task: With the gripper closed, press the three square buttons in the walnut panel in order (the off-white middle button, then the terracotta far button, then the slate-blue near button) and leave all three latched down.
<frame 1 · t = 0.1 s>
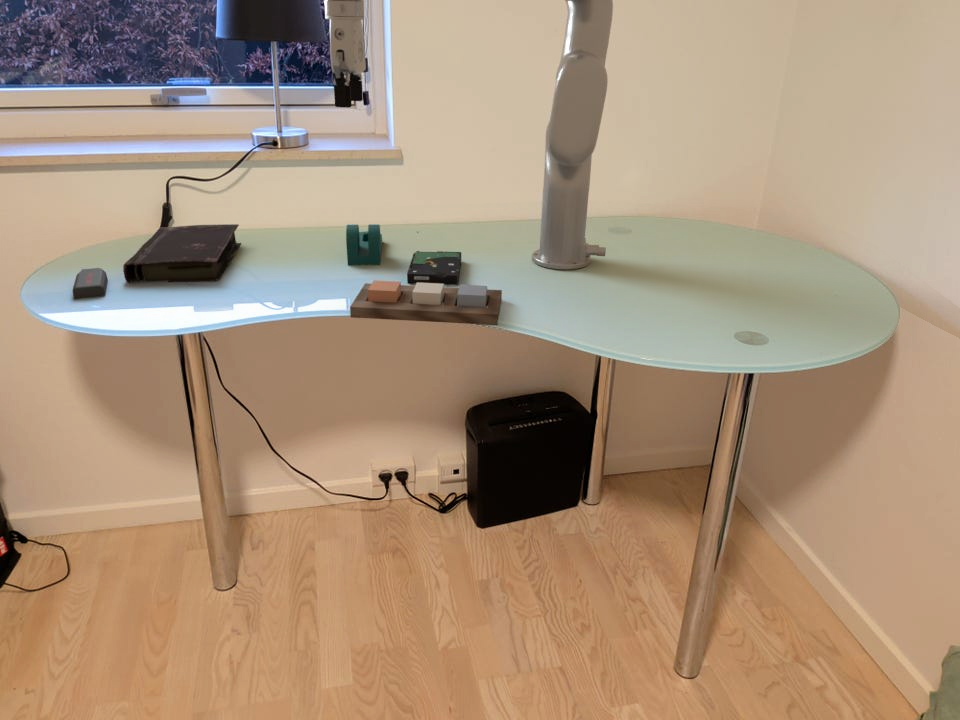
hand: (349, 103, 152), 31 cm above the table, fingers open, 9 cm apart
panel: (428, 308, 137), on the table
terracotta button: (384, 293, 136), point 3 cm above the table, slide at 0.0 cm
diary: (189, 264, 158), on the table
white button: (428, 295, 136), point 3 cm above the table, slide at 0.0 cm
disk drive: (435, 275, 155), on the table
bracket: (366, 253, 166), on the table
dark grey block: (92, 289, 143), on the table
slate button: (472, 297, 135), point 3 cm above the table, slide at 0.0 cm
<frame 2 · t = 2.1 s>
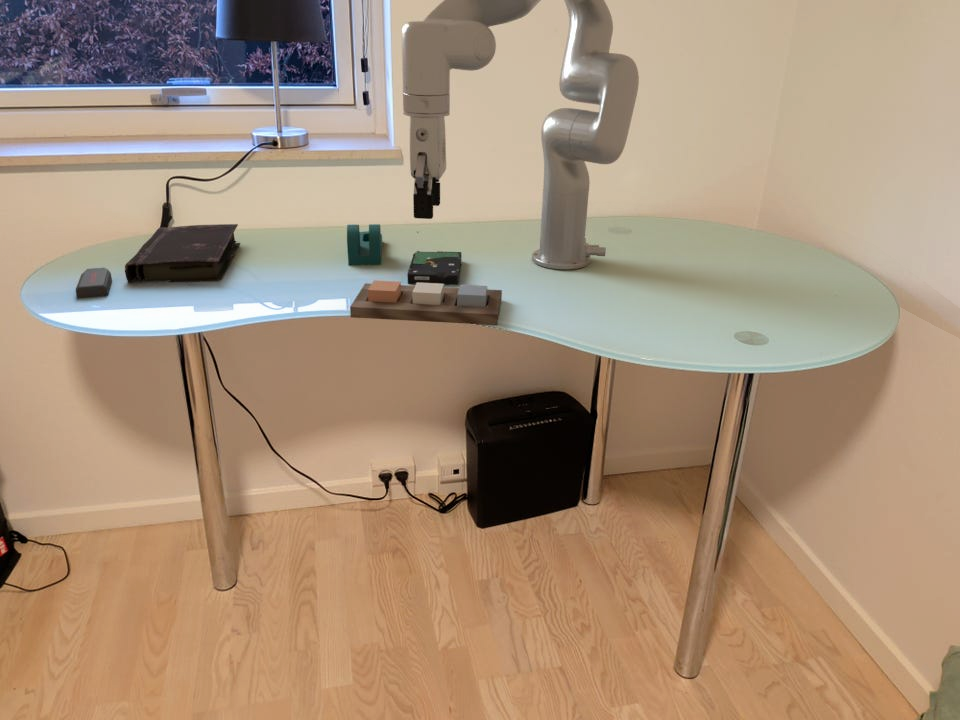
hand: (427, 210, 129), 18 cm above the table, fingers open, 8 cm apart
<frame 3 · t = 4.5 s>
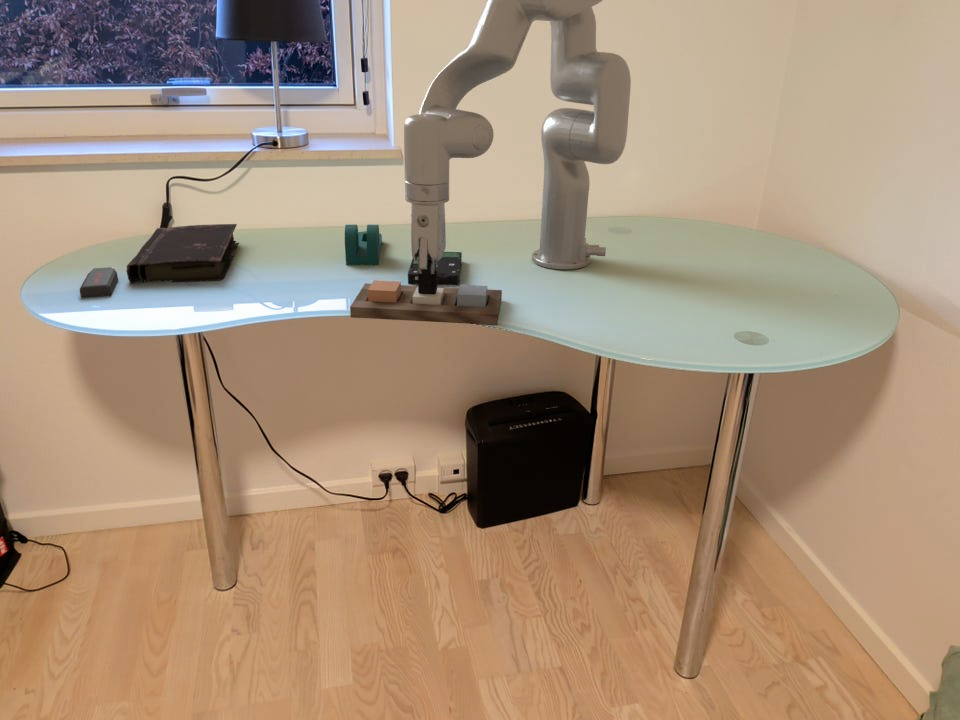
hand: (427, 292, 135), 3 cm above the table, fingers closed
white button: (428, 300, 136), point 2 cm above the table, slide at 0.9 cm, touching gripper
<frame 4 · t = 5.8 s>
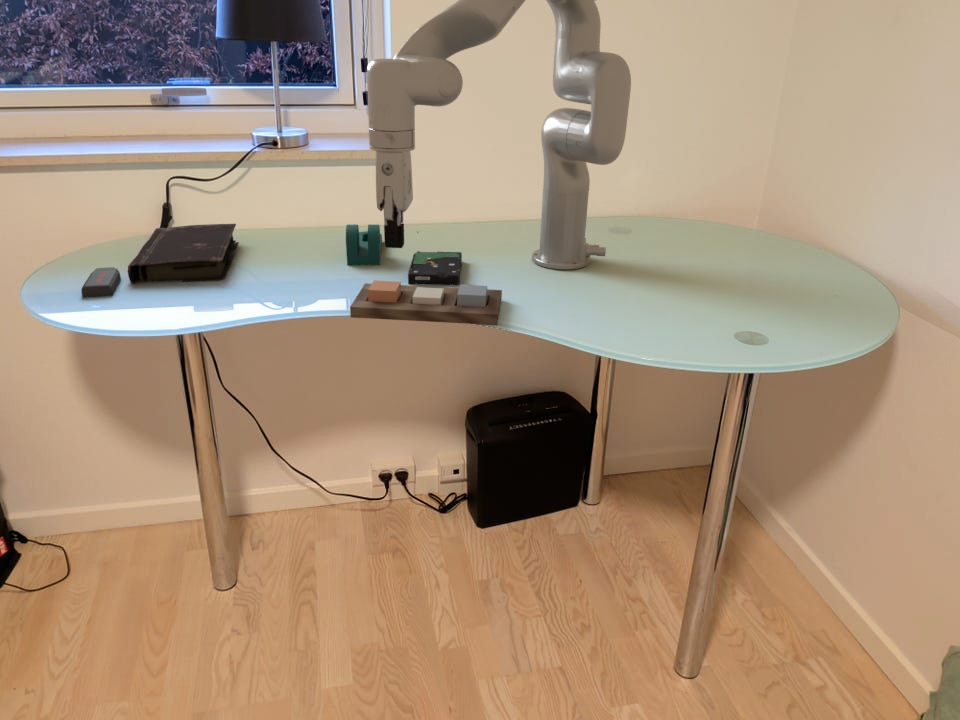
hand: (394, 246, 132), 12 cm above the table, fingers closed
white button: (428, 300, 136), point 2 cm above the table, slide at 0.9 cm
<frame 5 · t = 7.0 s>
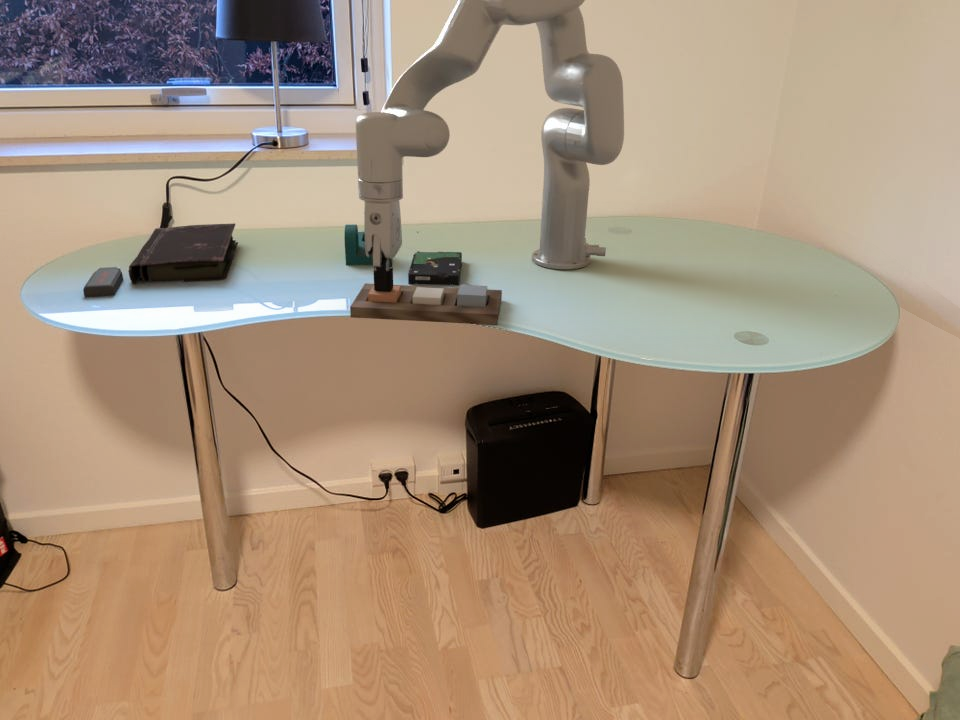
hand: (383, 289, 136), 3 cm above the table, fingers closed
terracotta button: (384, 297, 137), point 2 cm above the table, slide at 0.8 cm, touching gripper
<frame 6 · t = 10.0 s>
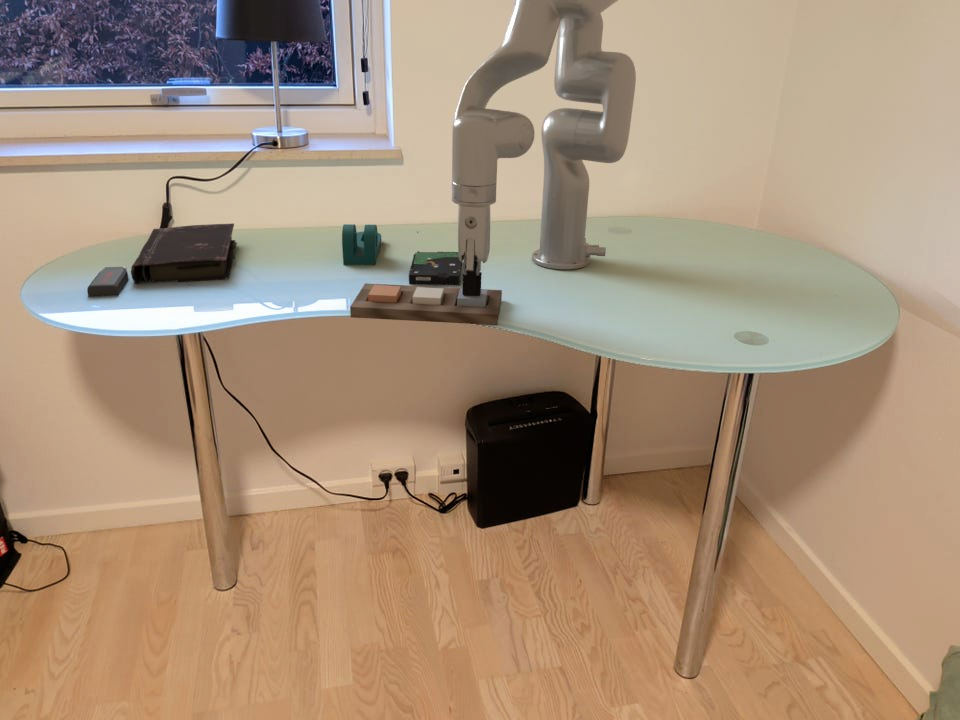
hand: (471, 294, 135), 3 cm above the table, fingers closed
terracotta button: (385, 298, 137), point 2 cm above the table, slide at 0.9 cm
slate button: (472, 301, 135), point 2 cm above the table, slide at 0.8 cm
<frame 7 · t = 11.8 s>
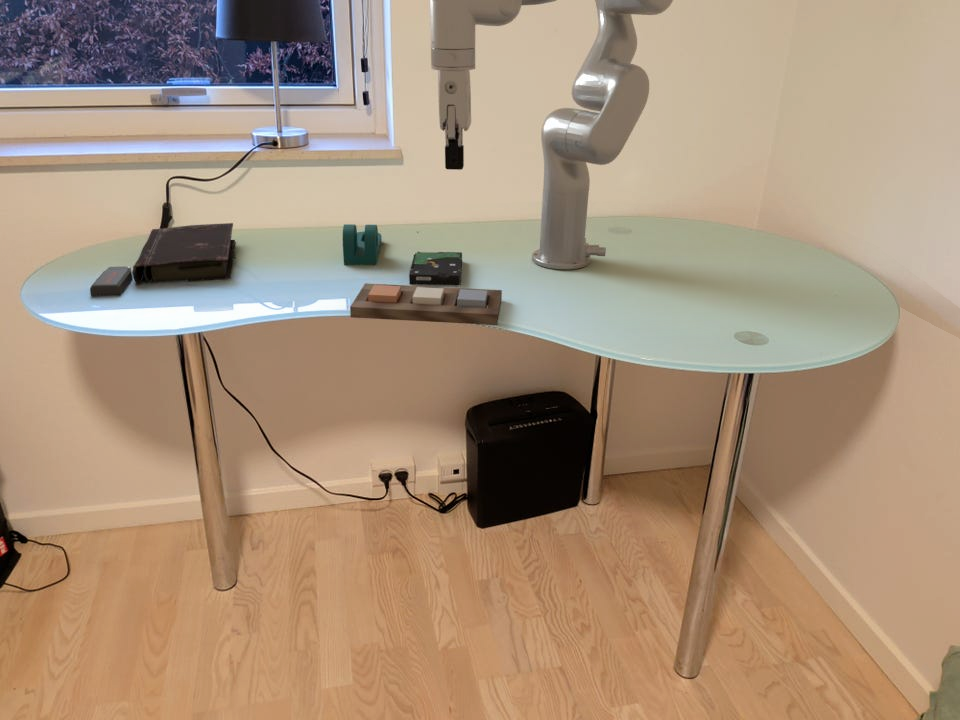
hand: (454, 168, 135), 23 cm above the table, fingers closed
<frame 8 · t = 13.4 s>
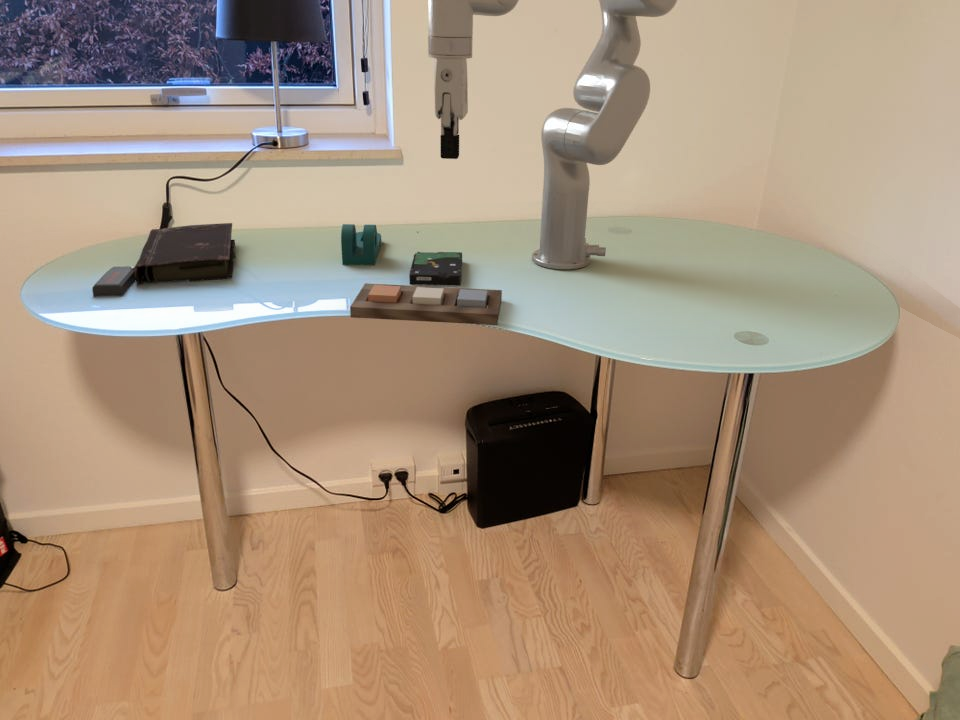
hand: (449, 157, 135), 25 cm above the table, fingers closed
at the end: white button slide at 0.9 cm; terracotta button slide at 0.9 cm; slate button slide at 0.9 cm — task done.
